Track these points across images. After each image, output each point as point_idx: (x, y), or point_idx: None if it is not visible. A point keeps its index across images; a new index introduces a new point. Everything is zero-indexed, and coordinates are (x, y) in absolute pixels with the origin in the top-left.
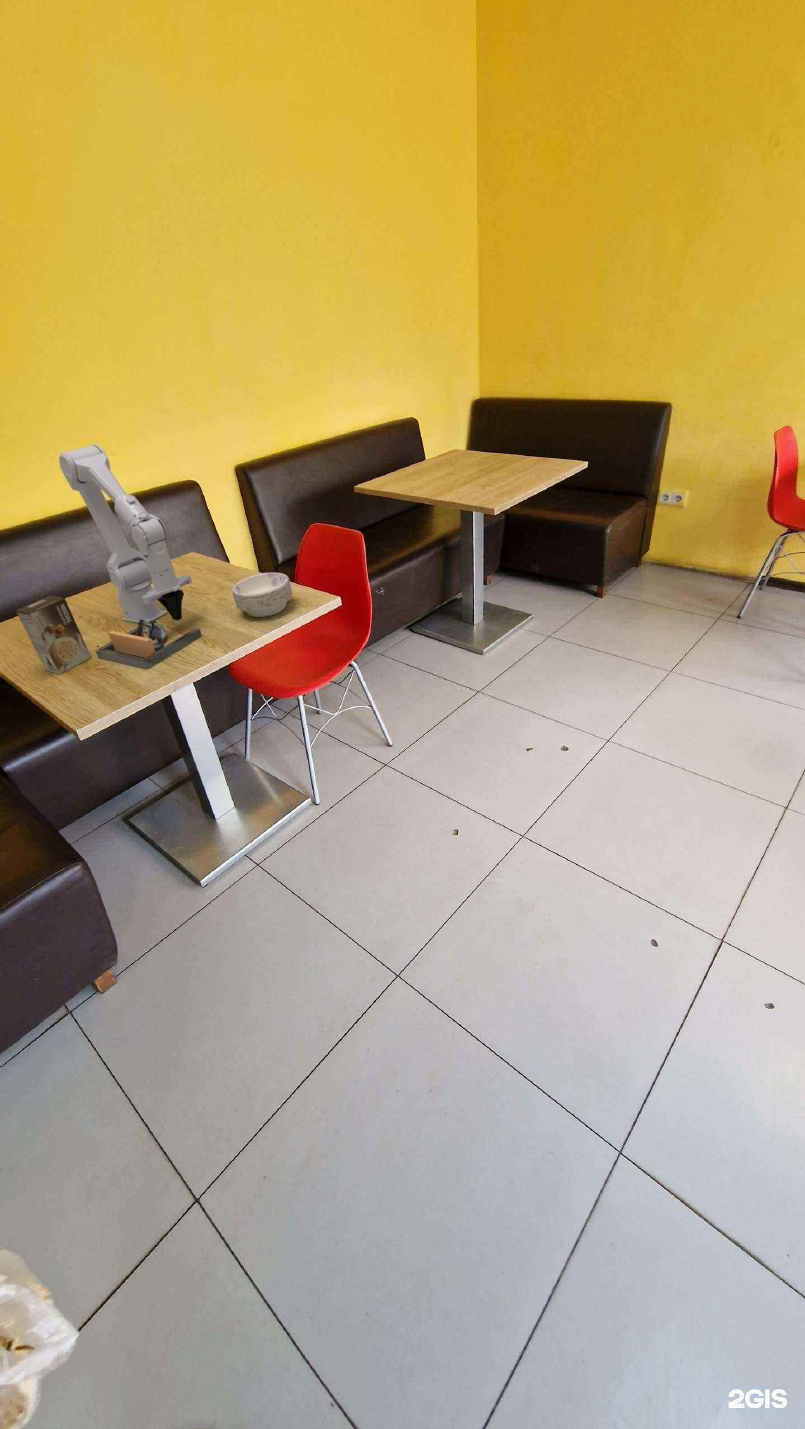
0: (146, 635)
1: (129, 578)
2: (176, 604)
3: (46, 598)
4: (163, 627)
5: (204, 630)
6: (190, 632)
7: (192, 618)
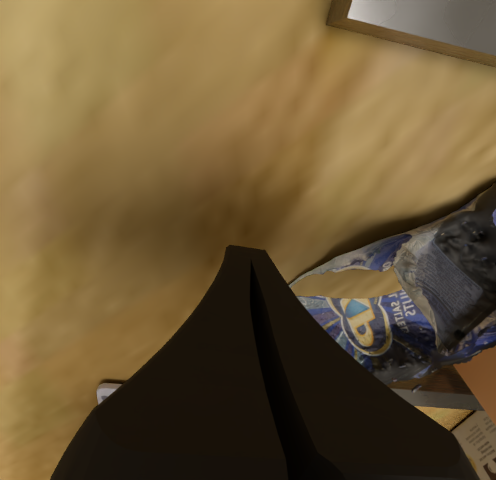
0: (357, 334)
1: None
2: (282, 342)
3: None
4: (400, 277)
5: (235, 18)
6: (449, 9)
7: (96, 246)
